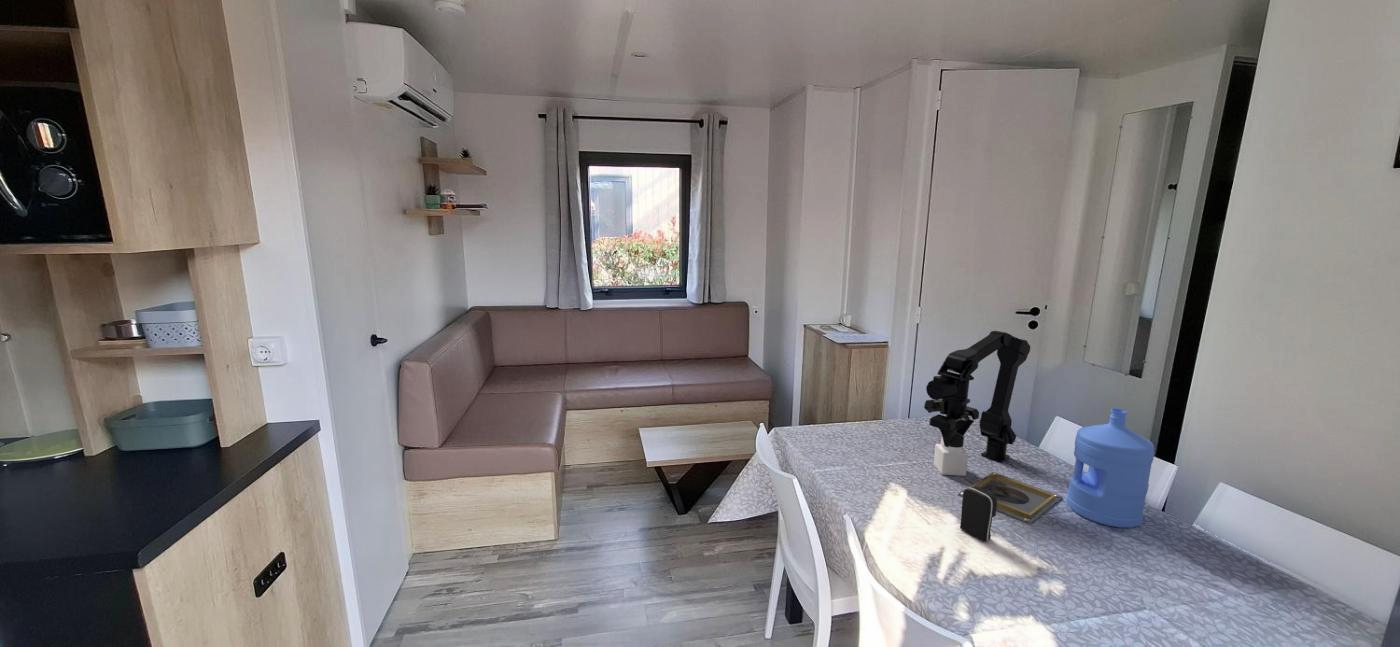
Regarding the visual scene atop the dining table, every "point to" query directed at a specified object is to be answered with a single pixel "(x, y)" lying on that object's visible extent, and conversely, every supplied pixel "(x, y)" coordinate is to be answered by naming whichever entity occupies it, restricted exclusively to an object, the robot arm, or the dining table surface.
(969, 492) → the battery charger
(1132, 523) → the water jug
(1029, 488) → the lid
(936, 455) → the medicine bottle
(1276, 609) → the dining table surface
